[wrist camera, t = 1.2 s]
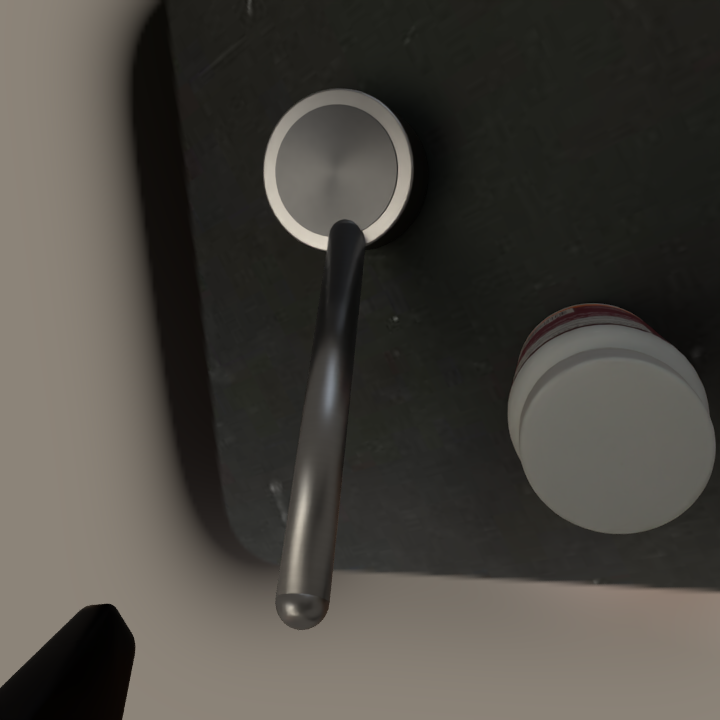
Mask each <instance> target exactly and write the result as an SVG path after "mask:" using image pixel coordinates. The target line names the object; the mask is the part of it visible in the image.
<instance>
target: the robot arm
mask: <svg viewBox="0 0 720 720" xmlns="http://www.w3.org/2000/svg"><path fill="white" fill-rule="evenodd" d="M134 656H135V641H134V637H133V635H132V633H131V632H130V630H129V628H128V627H127V625H126V623H125V622H124V620H123V618H122V617H121V615H120V613H119V612H118V610H117V609H116V607H115V606H113V605H111V604H99V605H90V606H86V607H84V608H83V609H82V610H80V611H79V612H78V613H77V614H76V615H75V616H74V617H73V618H72V619H71V620H70V621H69V622H68V623H67V624H66V625H65V626H64V627H62V629H61V630H60V631H58V632H57V633H56V634H55V635H54V636H53V637H52V638H51V639H50V640H49V641H48V642H47V643H46V644H45V645H44V646H43V647H42V648H41V649H40V650H39V651H38V652H37V653H36V654H35V655H34V656H33V657H32V658H31V659H30V660H28V661H27V662H26V663H25V664H24V665H23V666H22V667H21V668H20V669H19V670H18V671H17V672H16V673H15V674H14V675H13V676H12V677H11V678H10V679H9V680H8V681H7V682H6V683H5V684H4V685H3V686H2V687H1V688H0V720H122V717H123V712H124V707H125V702H126V697H127V692H128V687H129V681H130V676H131V671H132V666H133V661H134Z"/></svg>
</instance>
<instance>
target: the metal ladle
mask: <svg viewBox="0 0 720 720" xmlns="http://www.w3.org/2000/svg"><path fill="white" fill-rule="evenodd" d="M263 183H264V189H265V193H266V197H267V200H268V203H269V205H270V208H271V210H272V212H273V214H274V216H275V217H276V219H277V220H278V222H279V223H280V225H281V226H282V227H283V228H284V229H285V230H286V231H287V232H288V233H289V234H290V235H291V236H292V237H293V238H295V239H296V240H298V241H299V242H301V243H302V244H304V245H306V246H308V247H310V248H313V249H316V250H319V251H324V252H326V258H325V265H324V272H323V278H322V285H321V292H320V299H319V306H318V313H317V319H316V326H315V333H314V340H313V347H312V354H311V360H310V367H309V374H308V381H307V388H306V395H305V401H304V408H303V415H302V422H301V429H300V436H299V442H298V449H297V456H296V463H295V470H294V477H293V483H292V490H291V497H290V504H289V511H288V518H287V524H286V531H285V538H284V545H283V552H282V559H281V565H280V573H279V579H278V586H277V593H276V603H275V604H276V609H277V612H278V615H279V616H280V618H281V620H282V621H283V622H284V623H285V624H286V625H288V626H289V627H291V628H294V629H297V630H305V629H310V628H312V627H314V626H316V625H317V624H319V623H320V622H321V621H322V620H323V618H324V617H325V615H326V613H327V611H328V608H329V602H330V592H331V582H332V573H333V563H334V553H335V543H336V533H337V523H338V513H339V503H340V493H341V483H342V474H343V464H344V454H345V444H346V434H347V424H348V414H349V404H350V394H351V384H352V374H353V365H354V355H355V345H356V335H357V325H358V315H359V305H360V295H361V285H362V275H363V265H364V256H365V250H370V249H374V248H378V247H381V246H383V245H386V244H388V243H389V242H391V241H393V240H395V239H396V238H397V237H399V236H400V235H401V234H402V233H403V232H404V231H405V230H406V229H408V227H409V226H410V225H411V224H412V222H413V221H414V220H415V218H416V216H417V215H418V213H419V211H420V209H421V207H422V205H423V202H424V199H425V196H426V191H427V185H428V164H427V159H426V154H425V151H424V148H423V146H422V143H421V141H420V139H419V137H418V136H417V134H416V133H415V131H414V130H413V128H412V127H411V126H410V125H409V124H408V123H407V121H406V120H404V119H403V118H402V117H401V116H400V115H398V114H397V113H396V112H394V111H393V110H392V109H391V108H389V107H388V106H387V105H385V104H384V103H383V102H382V101H380V100H378V99H377V98H375V97H374V96H372V95H369V94H367V93H365V92H362V91H359V90H355V89H349V88H331V89H325V90H321V91H318V92H315V93H312V94H310V95H308V96H306V97H304V98H302V99H301V100H299V101H298V102H297V103H295V104H294V105H293V106H292V107H291V108H289V109H288V110H287V111H286V113H285V114H284V115H283V116H282V117H281V118H280V120H279V121H278V123H277V124H276V126H275V127H274V129H273V131H272V133H271V135H270V137H269V140H268V143H267V146H266V150H265V154H264V161H263Z"/></svg>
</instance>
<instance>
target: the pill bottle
mask: <svg viewBox="0 0 720 720" xmlns="http://www.w3.org/2000/svg"><path fill="white" fill-rule="evenodd" d="M508 426H509V432H510V436H511V440H512V443H513V446H514V448H515V450H516V453H517V455H518V456H519V458H520V460H521V463H522V466H523V470H524V472H525V474H526V477H527V479H528V481H529V483H530V485H531V486H532V488H533V490H534V491H535V492H536V494H537V495H538V496H539V498H540V499H541V500H542V501H543V502H544V503H545V504H546V505H547V506H548V507H549V508H550V509H551V510H553V511H554V512H555V513H556V514H558V515H559V516H561V517H562V518H564V519H565V520H567V521H569V522H571V523H573V524H575V525H578V526H580V527H583V528H586V529H589V530H593V531H597V532H602V533H610V534H630V533H637V532H642V531H647V530H651V529H654V528H656V527H659V526H661V525H664V524H666V523H668V522H670V521H671V520H673V519H675V518H677V517H678V516H680V515H681V514H682V513H683V512H684V511H686V510H687V509H688V508H689V507H690V506H691V505H692V504H693V503H694V502H695V501H696V500H697V498H698V497H699V496H700V494H701V493H702V492H703V490H704V488H705V486H706V485H707V483H708V480H709V478H710V476H711V472H712V469H713V465H714V461H715V453H716V443H715V433H714V428H713V424H712V421H711V418H710V416H709V406H708V400H707V396H706V392H705V389H704V386H703V383H702V381H701V379H700V378H699V376H698V374H697V372H696V371H695V369H694V367H693V366H692V364H691V363H690V362H689V361H688V360H687V358H686V357H685V356H684V355H683V354H682V353H681V352H680V351H679V350H678V349H677V348H675V347H674V346H673V345H672V344H671V343H669V342H668V341H667V340H665V339H664V338H663V337H662V336H660V335H659V334H658V333H657V332H656V331H655V330H654V329H652V328H651V327H650V326H649V325H648V324H646V323H645V322H644V321H643V320H641V319H640V318H639V317H637V316H636V315H634V314H632V313H631V312H629V311H627V310H624V309H622V308H619V307H616V306H612V305H607V304H599V303H585V304H578V305H573V306H570V307H567V308H564V309H561V310H559V311H557V312H555V313H553V314H552V315H550V316H548V317H547V318H546V319H544V320H543V321H542V322H541V323H540V324H538V325H537V326H536V327H535V329H534V330H533V331H532V332H531V334H530V335H529V336H528V338H527V340H526V341H525V343H524V345H523V348H522V350H521V353H520V355H519V359H518V363H517V367H516V370H515V375H514V378H513V382H512V387H511V389H510V393H509V397H508Z"/></svg>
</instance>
